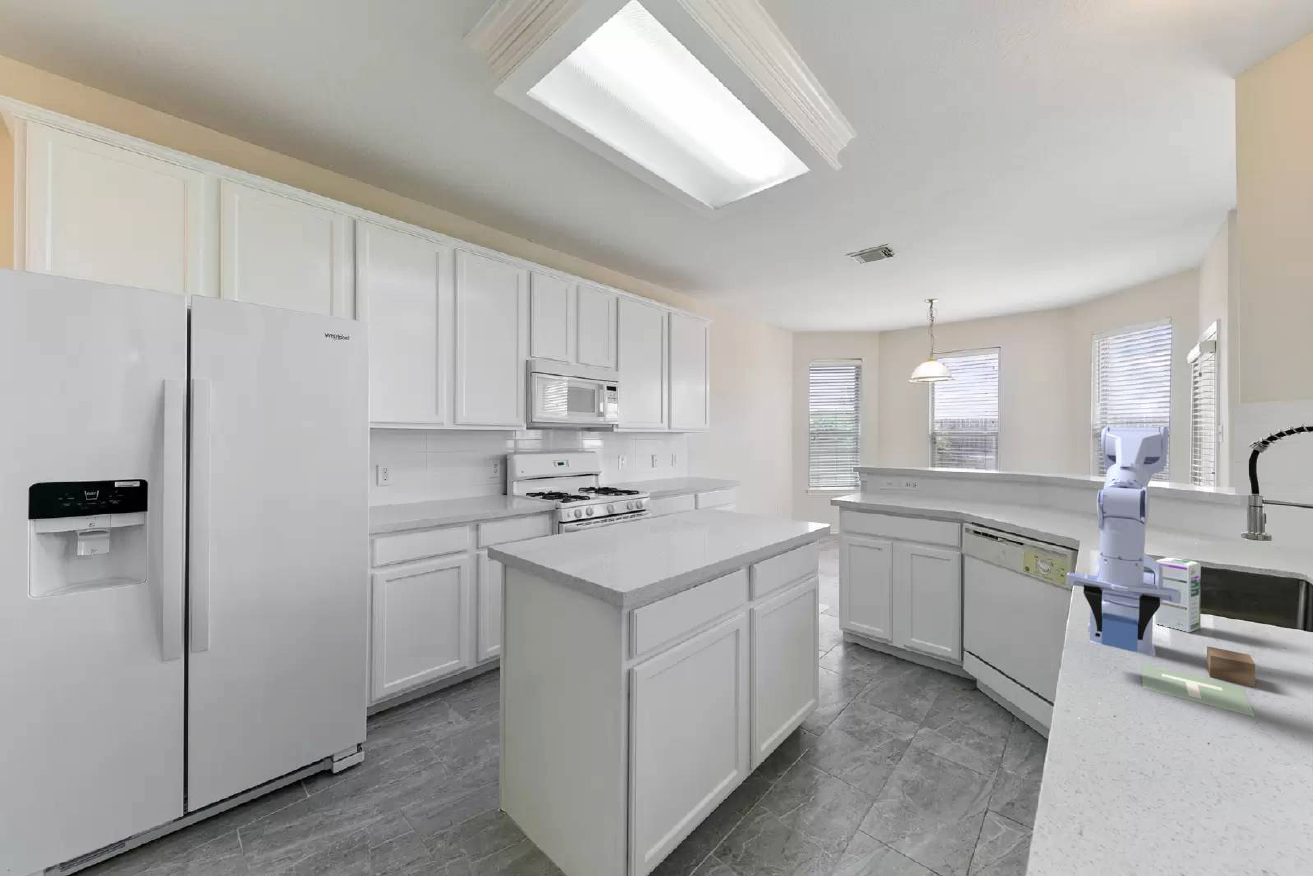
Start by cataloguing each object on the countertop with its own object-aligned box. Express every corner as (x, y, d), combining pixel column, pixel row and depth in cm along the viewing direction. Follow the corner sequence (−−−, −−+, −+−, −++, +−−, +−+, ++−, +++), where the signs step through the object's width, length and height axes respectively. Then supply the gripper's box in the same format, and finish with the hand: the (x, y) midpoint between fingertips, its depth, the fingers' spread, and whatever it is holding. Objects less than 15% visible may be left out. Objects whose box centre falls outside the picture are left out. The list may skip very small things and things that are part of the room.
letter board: (1142, 691, 83) (1142, 688, 83) (1141, 667, 92) (1141, 663, 92) (1255, 720, 75) (1255, 716, 75) (1241, 690, 84) (1242, 686, 84)
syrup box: (1190, 633, 108) (1192, 565, 107) (1153, 624, 113) (1154, 558, 112) (1200, 629, 110) (1202, 562, 110) (1164, 619, 115) (1165, 556, 115)
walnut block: (1209, 681, 87) (1210, 655, 87) (1206, 671, 91) (1207, 646, 91) (1254, 691, 84) (1255, 664, 84) (1249, 680, 88) (1249, 654, 87)
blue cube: (1101, 644, 89) (1102, 618, 89) (1102, 636, 92) (1103, 611, 92) (1137, 652, 86) (1137, 625, 86) (1136, 643, 89) (1137, 618, 89)
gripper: (1065, 553, 91) (1064, 629, 91) (1183, 569, 81) (1180, 654, 81) (1069, 546, 96) (1067, 618, 96) (1179, 560, 86) (1177, 640, 86)
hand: (1119, 634), depth 89 cm, fingers closed on blue cube, 4 cm apart
